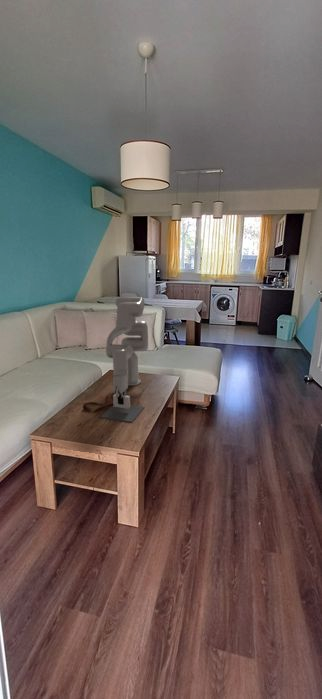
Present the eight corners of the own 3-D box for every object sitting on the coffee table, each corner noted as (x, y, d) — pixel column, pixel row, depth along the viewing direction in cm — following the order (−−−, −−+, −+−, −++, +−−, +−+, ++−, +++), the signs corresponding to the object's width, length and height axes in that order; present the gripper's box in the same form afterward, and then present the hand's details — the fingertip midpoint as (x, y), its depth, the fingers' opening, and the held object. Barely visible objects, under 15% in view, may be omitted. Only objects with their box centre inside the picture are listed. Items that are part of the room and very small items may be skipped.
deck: (115, 404, 181) (114, 394, 180) (130, 407, 179) (130, 395, 177) (113, 406, 179) (113, 395, 178) (128, 408, 177) (128, 397, 175)
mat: (115, 403, 190) (115, 402, 190) (144, 407, 184) (144, 406, 184) (100, 417, 173) (100, 416, 173) (132, 422, 168) (132, 421, 168)
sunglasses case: (91, 413, 178) (87, 402, 178) (85, 416, 183) (81, 405, 183) (117, 403, 190) (113, 392, 191) (111, 406, 195) (107, 395, 196)
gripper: (120, 366, 182) (121, 396, 187) (107, 375, 167) (109, 408, 172) (132, 367, 180) (133, 398, 185) (120, 376, 165) (122, 410, 170)
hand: (121, 403), depth 178 cm, fingers closed on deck, 2 cm apart
